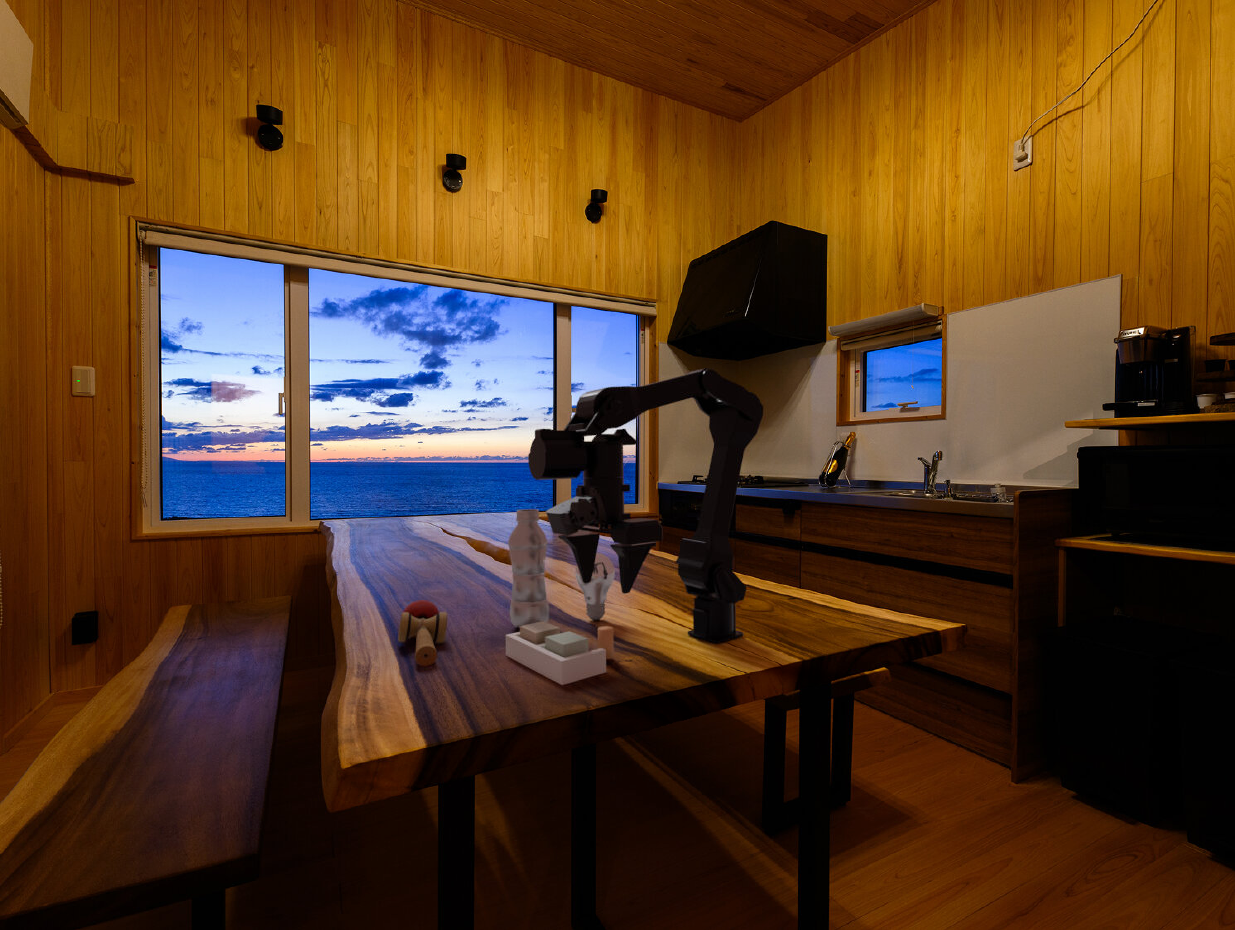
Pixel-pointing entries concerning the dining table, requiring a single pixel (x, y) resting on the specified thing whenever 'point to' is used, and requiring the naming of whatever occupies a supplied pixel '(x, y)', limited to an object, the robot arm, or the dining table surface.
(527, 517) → the plastic bottle
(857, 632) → the dining table surface
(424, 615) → the kendama
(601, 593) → the light bulb
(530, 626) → the ash block
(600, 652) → the lane rack
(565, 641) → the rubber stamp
